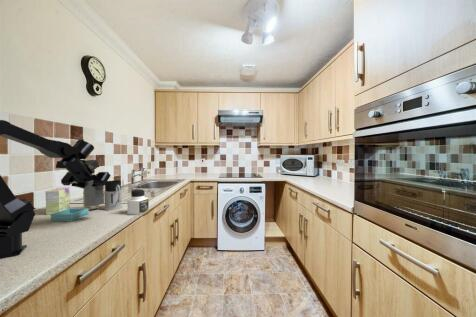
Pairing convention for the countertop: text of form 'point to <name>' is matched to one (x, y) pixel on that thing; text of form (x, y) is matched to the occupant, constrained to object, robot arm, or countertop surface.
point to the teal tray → (69, 214)
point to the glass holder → (113, 195)
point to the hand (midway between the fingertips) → (96, 189)
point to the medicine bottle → (137, 202)
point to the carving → (88, 206)
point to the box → (57, 200)
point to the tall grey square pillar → (93, 195)
